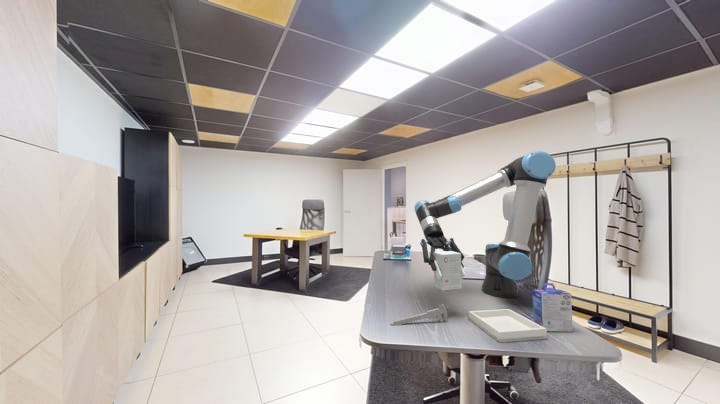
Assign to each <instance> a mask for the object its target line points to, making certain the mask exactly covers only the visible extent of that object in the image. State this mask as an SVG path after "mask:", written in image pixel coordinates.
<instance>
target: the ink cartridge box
mask: <svg viewBox="0 0 720 404" xmlns="http://www.w3.org/2000/svg"><path fill="white" fill-rule="evenodd" d="M542 285H543V289H532V290H531V292H532V293H531V294H532V295H531V296H532V315H533V322H535V323H537V324H538V325H540V326H542V327H544V328H546V329H547V332H569V333H570V332H574V330H573V329H574V328H573V309H572V308H573V307H572V305H573V304H572V293H569V292H567V291H565V290H562V289H556V287H555V285H554V282H553V283H552V282H542ZM547 286H551V287H547Z"/></svg>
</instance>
